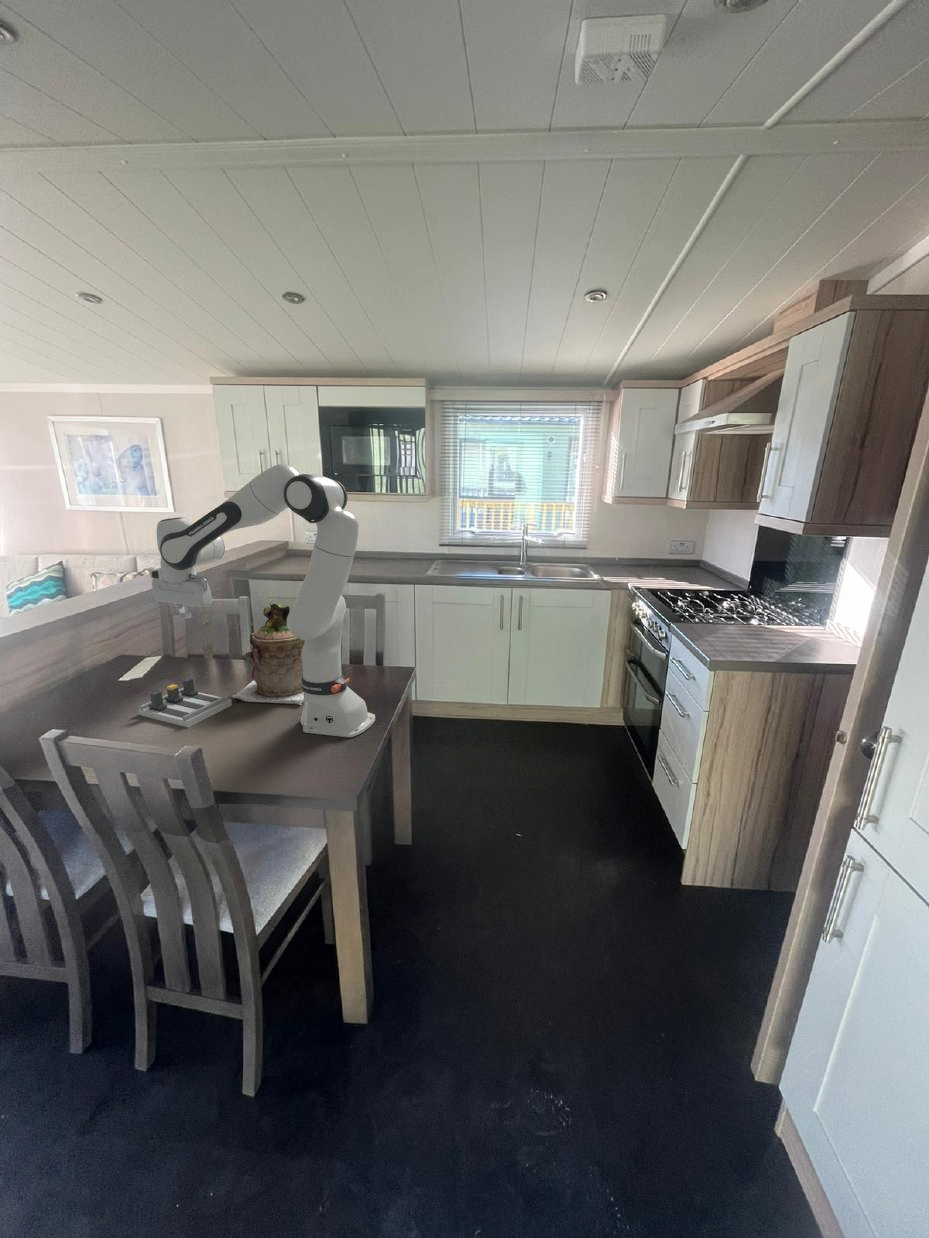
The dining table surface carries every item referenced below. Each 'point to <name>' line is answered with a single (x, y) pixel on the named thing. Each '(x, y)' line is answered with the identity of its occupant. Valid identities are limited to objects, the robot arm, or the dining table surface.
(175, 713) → the panel
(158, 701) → the breaker left
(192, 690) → the breaker right
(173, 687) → the breaker middle
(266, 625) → the cookie jar
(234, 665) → the dining table surface
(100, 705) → the dining table surface
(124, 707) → the dining table surface
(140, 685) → the dining table surface
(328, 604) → the robot arm
